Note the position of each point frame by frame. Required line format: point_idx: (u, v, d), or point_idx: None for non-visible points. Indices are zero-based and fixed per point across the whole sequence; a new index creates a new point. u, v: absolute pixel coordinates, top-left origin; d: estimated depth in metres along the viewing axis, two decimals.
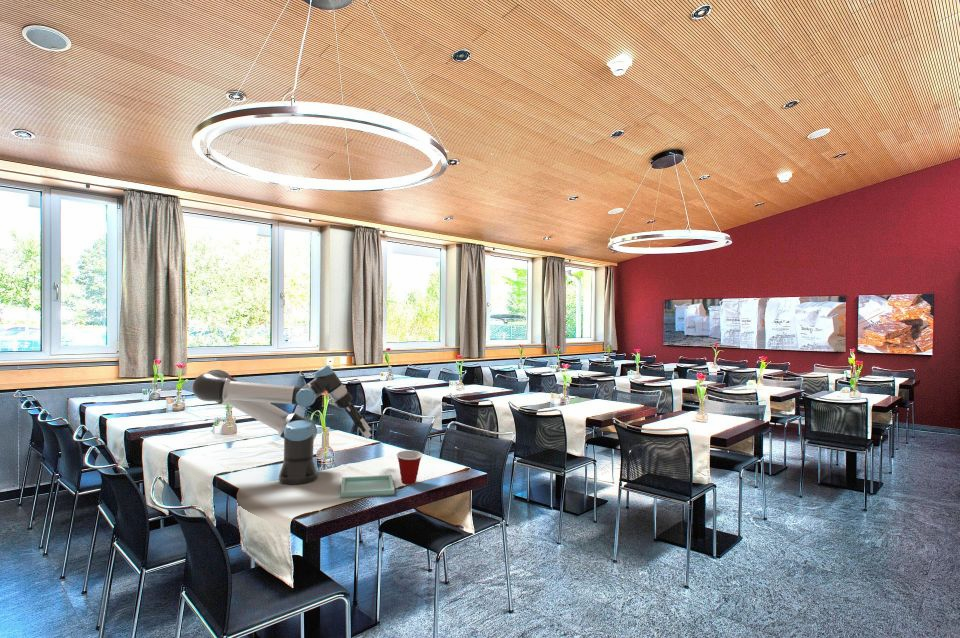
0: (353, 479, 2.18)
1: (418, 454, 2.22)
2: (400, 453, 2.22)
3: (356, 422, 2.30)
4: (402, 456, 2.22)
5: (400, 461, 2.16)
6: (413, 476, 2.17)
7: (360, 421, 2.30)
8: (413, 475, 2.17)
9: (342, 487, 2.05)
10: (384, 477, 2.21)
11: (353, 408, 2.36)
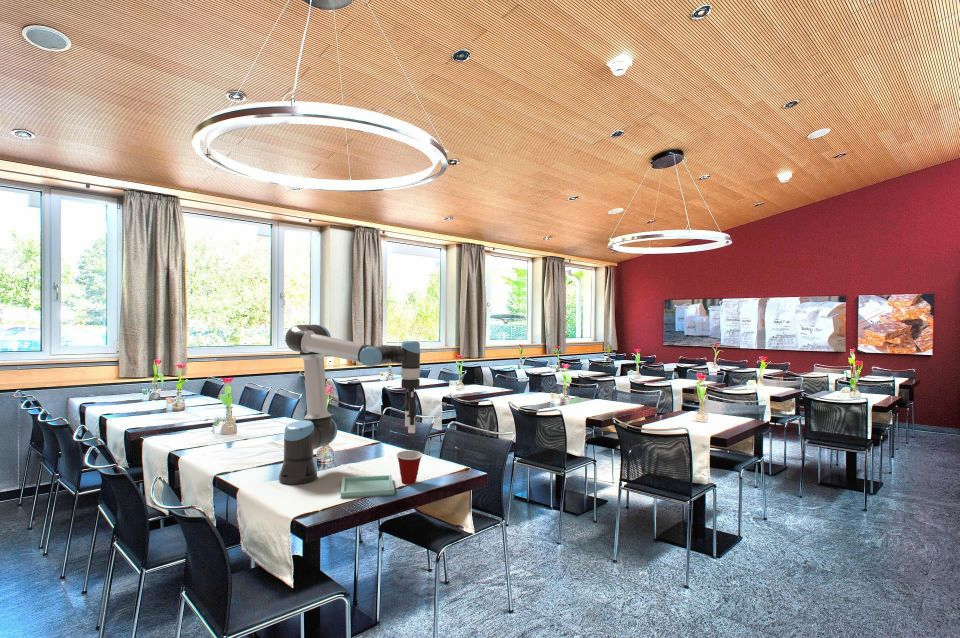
0: (353, 479, 2.18)
1: (418, 454, 2.22)
2: (400, 453, 2.22)
3: (411, 411, 2.10)
4: (402, 456, 2.22)
5: (400, 461, 2.16)
6: (413, 476, 2.17)
7: (415, 413, 2.11)
8: (413, 475, 2.17)
9: (342, 487, 2.05)
10: (384, 477, 2.21)
11: (414, 396, 2.17)
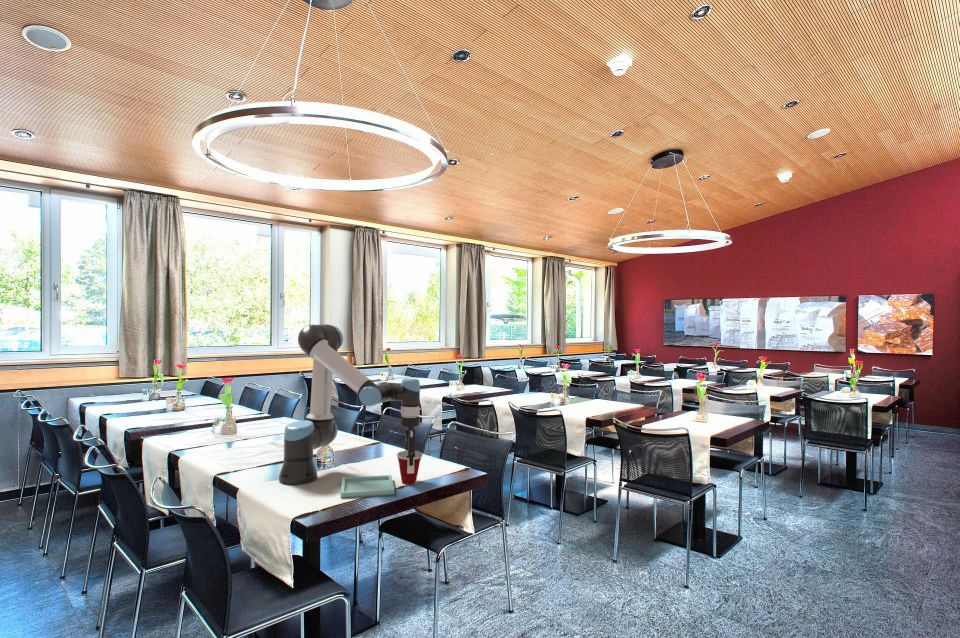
0: (353, 479, 2.18)
1: (418, 454, 2.22)
2: (400, 453, 2.22)
3: (410, 452, 2.11)
4: (402, 456, 2.22)
5: (400, 461, 2.16)
6: (413, 476, 2.17)
7: (414, 453, 2.11)
8: (413, 475, 2.17)
9: (342, 487, 2.05)
10: (384, 477, 2.21)
11: None
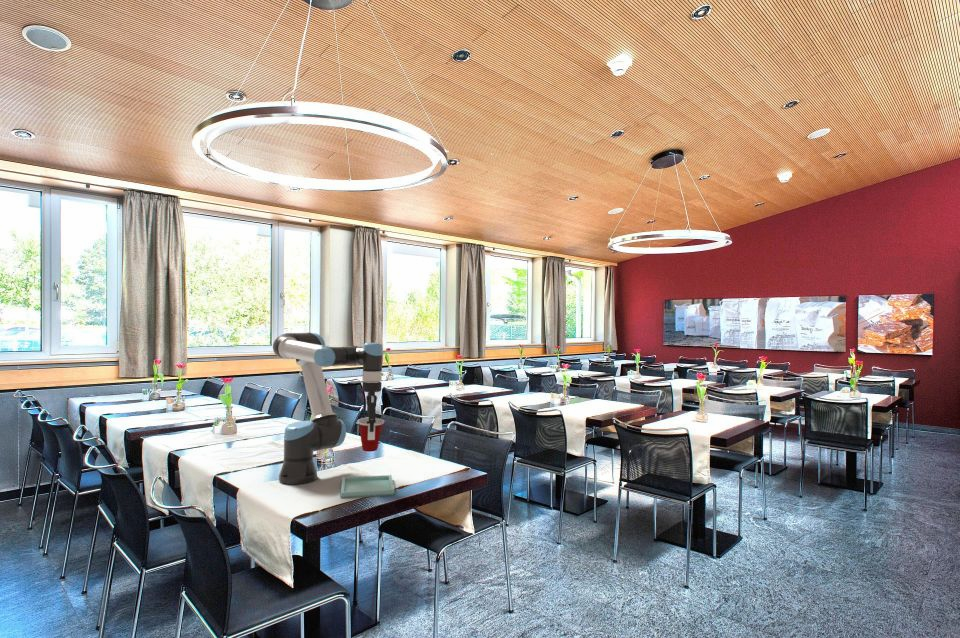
0: (353, 479, 2.18)
1: (380, 421, 2.15)
2: (361, 420, 2.14)
3: (371, 418, 2.03)
4: (363, 423, 2.14)
5: (361, 427, 2.08)
6: (374, 443, 2.09)
7: None
8: (374, 442, 2.09)
9: (342, 487, 2.05)
10: (384, 477, 2.21)
11: (375, 401, 2.09)
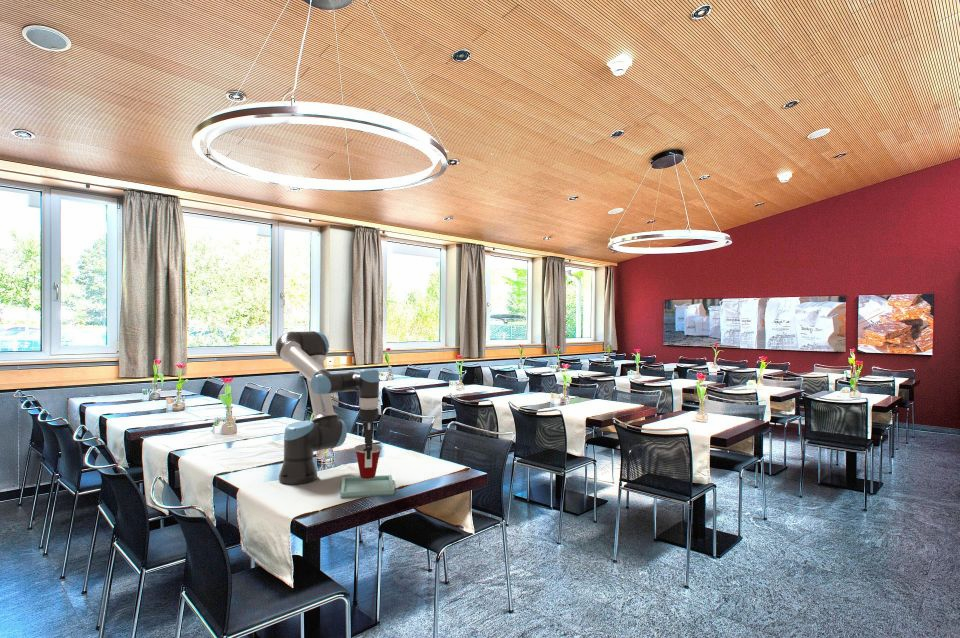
0: (353, 479, 2.18)
1: (378, 447, 2.14)
2: (359, 446, 2.13)
3: (367, 445, 2.02)
4: (361, 450, 2.13)
5: (358, 455, 2.07)
6: (372, 470, 2.08)
7: None
8: (372, 469, 2.08)
9: (342, 487, 2.05)
10: (384, 477, 2.21)
11: (372, 428, 2.08)
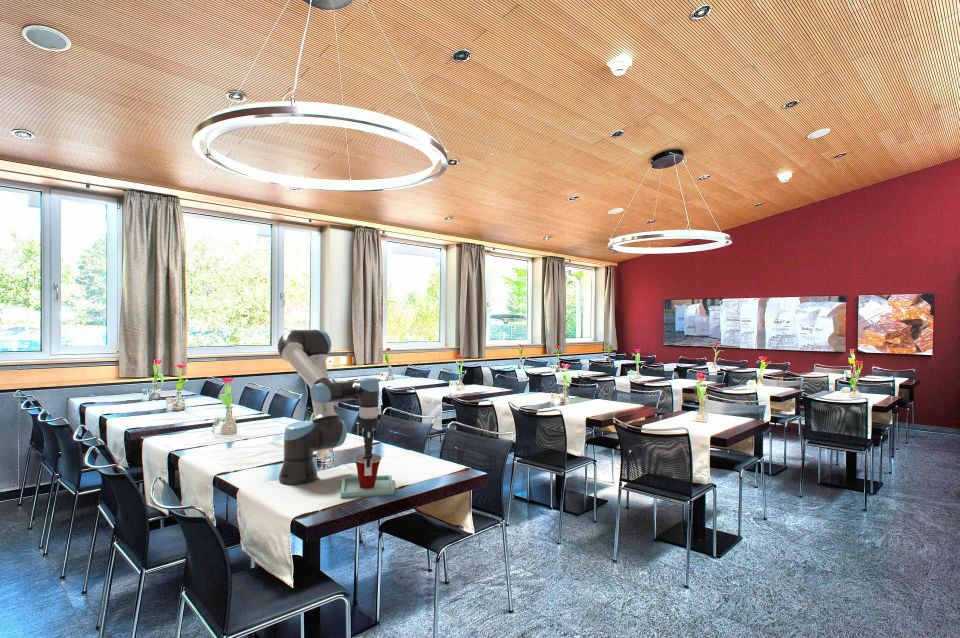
0: (353, 479, 2.18)
1: (377, 457, 2.14)
2: (359, 456, 2.13)
3: (367, 453, 2.01)
4: (361, 459, 2.13)
5: (357, 464, 2.07)
6: (371, 480, 2.08)
7: (371, 455, 2.02)
8: (371, 479, 2.08)
9: (342, 487, 2.05)
10: (384, 477, 2.21)
11: (372, 436, 2.08)
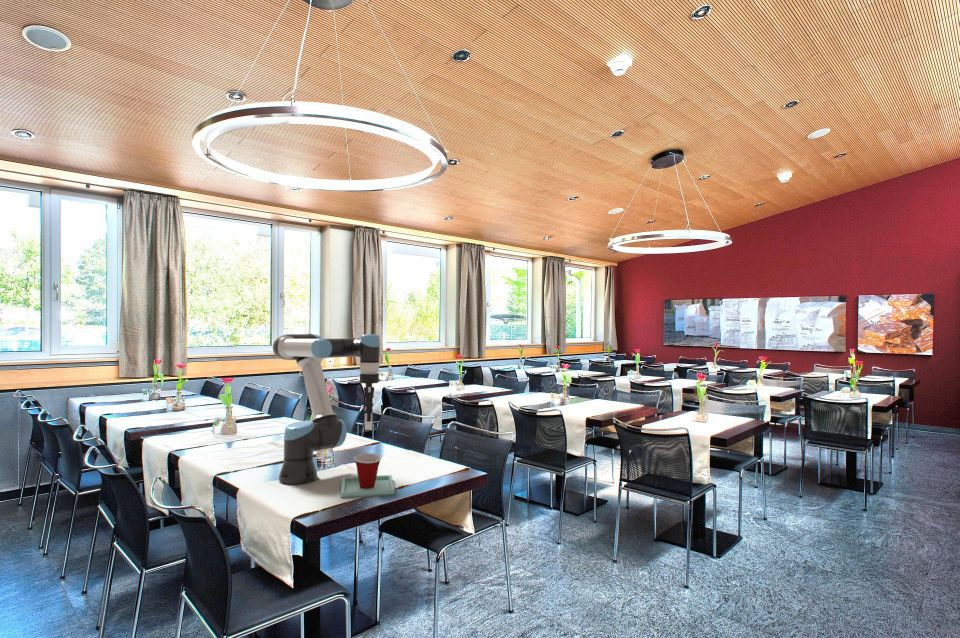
0: (353, 479, 2.18)
1: (377, 457, 2.14)
2: (358, 456, 2.13)
3: (368, 407, 2.01)
4: (361, 459, 2.13)
5: (357, 464, 2.07)
6: (371, 480, 2.08)
7: None
8: (371, 479, 2.08)
9: (342, 487, 2.05)
10: (384, 477, 2.21)
11: (372, 392, 2.08)
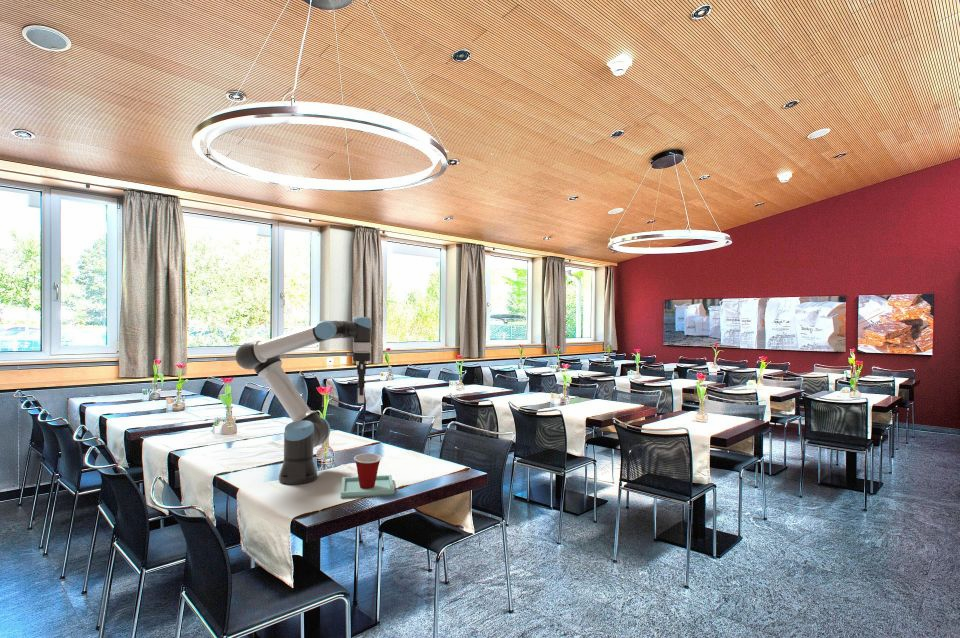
0: (353, 479, 2.18)
1: (377, 457, 2.14)
2: (358, 456, 2.13)
3: (360, 382, 2.22)
4: (361, 459, 2.13)
5: (357, 464, 2.07)
6: (371, 480, 2.08)
7: None
8: (371, 479, 2.08)
9: (342, 487, 2.05)
10: (384, 477, 2.21)
11: (365, 369, 2.29)
